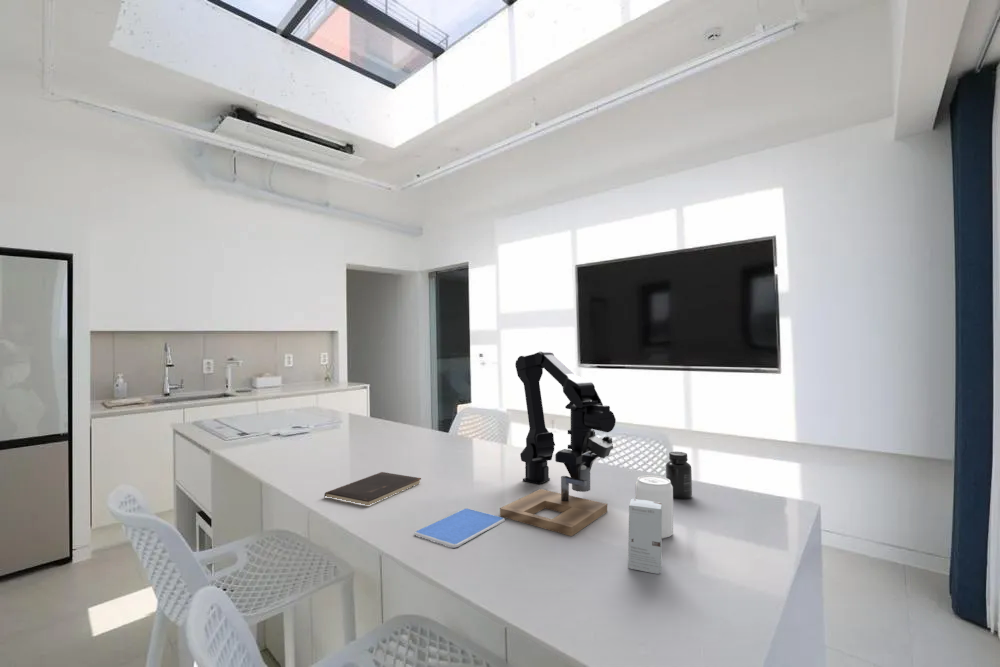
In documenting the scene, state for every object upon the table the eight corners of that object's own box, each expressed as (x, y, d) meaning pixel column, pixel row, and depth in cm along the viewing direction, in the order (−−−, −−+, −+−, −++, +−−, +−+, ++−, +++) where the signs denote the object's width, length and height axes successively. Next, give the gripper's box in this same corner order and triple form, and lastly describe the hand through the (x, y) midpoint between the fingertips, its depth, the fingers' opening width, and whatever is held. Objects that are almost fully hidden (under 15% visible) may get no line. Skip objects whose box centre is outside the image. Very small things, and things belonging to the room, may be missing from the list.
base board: (500, 516, 115) (500, 508, 115) (540, 496, 130) (540, 489, 130) (571, 536, 103) (571, 527, 103) (607, 511, 118) (607, 503, 118)
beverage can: (654, 543, 99) (654, 487, 99) (628, 529, 106) (627, 477, 107) (681, 536, 103) (680, 482, 103) (653, 523, 110) (653, 473, 110)
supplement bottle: (687, 492, 133) (687, 450, 134) (695, 500, 127) (695, 456, 127) (663, 491, 134) (663, 450, 134) (669, 499, 127) (669, 455, 128)
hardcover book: (421, 485, 141) (421, 478, 141) (368, 509, 121) (368, 500, 121) (380, 478, 148) (380, 471, 148) (324, 500, 128) (324, 491, 128)
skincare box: (627, 569, 88) (627, 504, 88) (630, 559, 92) (629, 497, 92) (661, 575, 85) (661, 509, 86) (662, 564, 90) (662, 501, 90)
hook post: (559, 500, 120) (559, 477, 121) (563, 498, 122) (563, 475, 122) (584, 505, 116) (584, 482, 116) (587, 503, 118) (587, 480, 118)
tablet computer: (466, 511, 119) (466, 506, 119) (506, 522, 112) (506, 517, 112) (412, 537, 103) (412, 531, 103) (455, 551, 96) (455, 545, 96)
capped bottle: (568, 489, 127) (568, 466, 127) (577, 484, 131) (577, 463, 131) (585, 492, 124) (585, 469, 124) (593, 488, 128) (593, 465, 128)
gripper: (592, 435, 116) (592, 497, 116) (621, 425, 131) (622, 480, 130) (554, 430, 123) (554, 489, 122) (586, 421, 138) (586, 473, 137)
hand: (581, 483), depth 128 cm, fingers closed on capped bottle, 5 cm apart
